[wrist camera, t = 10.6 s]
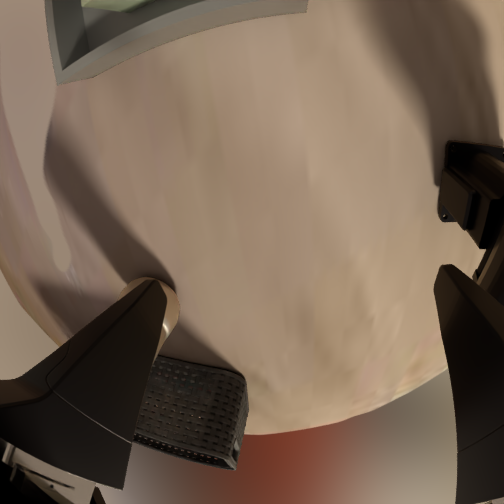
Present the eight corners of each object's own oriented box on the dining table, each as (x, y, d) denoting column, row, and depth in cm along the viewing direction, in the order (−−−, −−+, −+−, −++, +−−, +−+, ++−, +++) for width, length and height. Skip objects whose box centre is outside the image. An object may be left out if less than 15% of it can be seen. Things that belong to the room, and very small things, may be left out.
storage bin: (124, 382, 51) (104, 431, 41) (85, 332, 39) (52, 393, 29) (250, 411, 47) (238, 471, 37) (246, 368, 36) (227, 458, 25)
